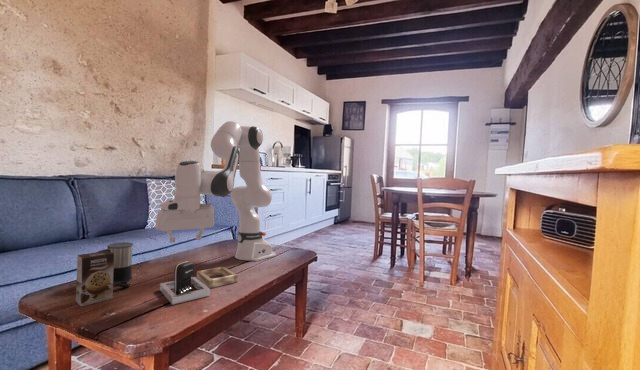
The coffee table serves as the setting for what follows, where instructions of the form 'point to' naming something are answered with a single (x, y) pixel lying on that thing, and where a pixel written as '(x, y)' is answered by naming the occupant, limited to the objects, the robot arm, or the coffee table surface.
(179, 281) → the battery charger
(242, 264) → the coffee table surface
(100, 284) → the cookie box
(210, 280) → the tan wooden frame
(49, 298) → the coffee table surface
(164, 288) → the frame
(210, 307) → the coffee table surface
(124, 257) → the milk frother
